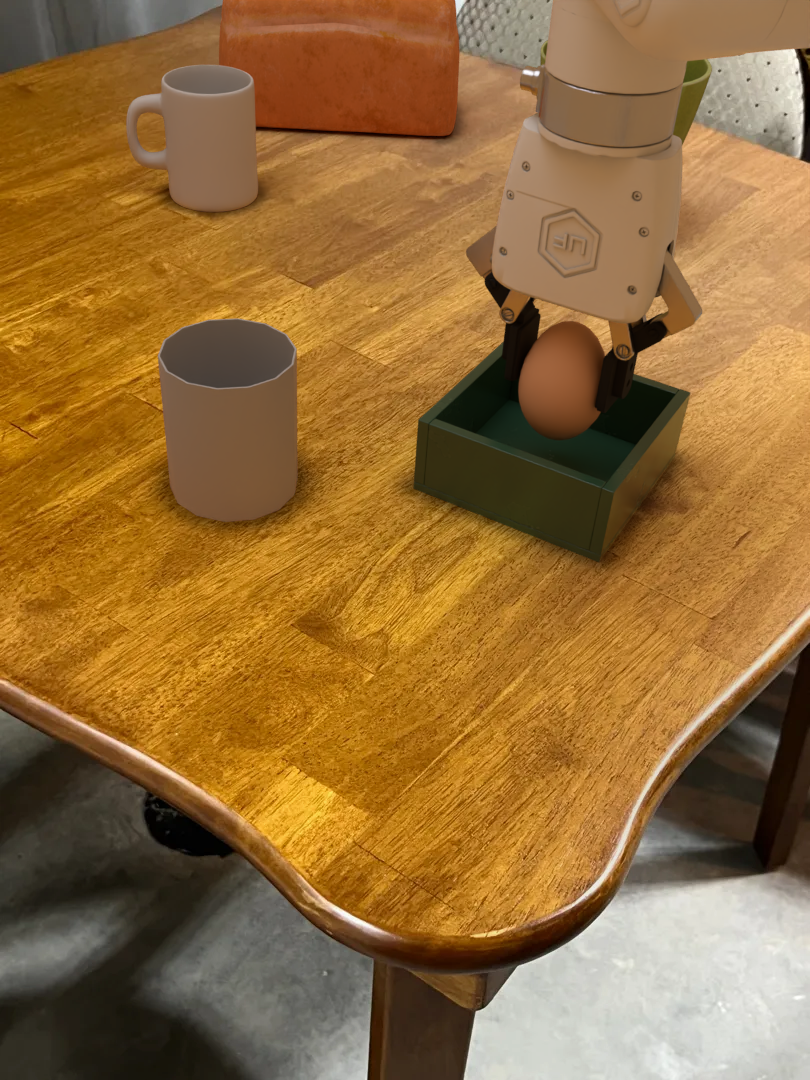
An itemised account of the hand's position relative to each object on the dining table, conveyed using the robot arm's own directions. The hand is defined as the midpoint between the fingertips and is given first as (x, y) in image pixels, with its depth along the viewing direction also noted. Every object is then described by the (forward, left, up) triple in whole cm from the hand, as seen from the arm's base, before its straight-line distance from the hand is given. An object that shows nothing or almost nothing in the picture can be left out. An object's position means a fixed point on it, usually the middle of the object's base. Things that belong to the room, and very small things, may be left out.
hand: (563, 384), depth 75 cm
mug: (+48, -22, -8) cm, 54 cm away
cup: (+17, +13, -8) cm, 23 cm away
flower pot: (+13, -39, -8) cm, 42 cm away
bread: (+49, -49, -8) cm, 70 cm away
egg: (0, 0, -4) cm, 4 cm away
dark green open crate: (0, 0, -7) cm, 7 cm away
